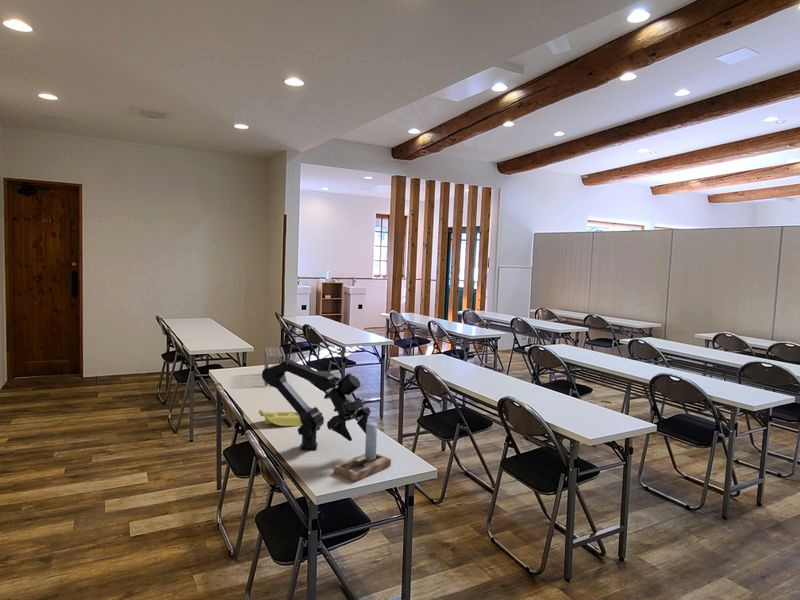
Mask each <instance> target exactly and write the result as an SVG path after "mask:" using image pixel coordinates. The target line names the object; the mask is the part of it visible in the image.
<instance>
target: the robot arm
mask: <svg viewBox="0 0 800 600" xmlns="http://www.w3.org/2000/svg"><path fill="white" fill-rule="evenodd" d="M274 365H275V366H274ZM274 365H272V366H268V368H266V369H265V368H264V369H263V370H262V371H261V378H262V380H263V381H264V382H265V384H266V383H267V384H268V385H269V386H270V387H272V388H275V389H277V391H278V392H279V393H280V394H281V395H282V396H283V398H284V399H285V400H286V402H287V403H288V404H289V405H290V406H291V407H292V408H293V409H294V411H295V412H297V413H298V414H299V416H300V420H301V423H302V425H301V426H299V427H298V428H297V432H298V435H301V443H300V447H299V450H300V451H303V450H304V451H307V450H309V451H311V450H312V451H314V450H315V451H317V449H318V442H317V432H318V431H320V429H321V427H322V426H324V422H325V417H324V416H323V415H324V414H323V413H322V412H321V411H320V410H319V408H318V407H317V406H314V407H313V408H312V407H310V406H309V405H308V404H307V403H306V402H305V401H304V399H303V398H302V397H301V396H300V395H299V393H298V392H296V390H295V389H294V388H293V387H292V385H290V383H289V382H288V381H287V378H286V373H287V372H288V373H289V374H292V375H294V376H297V377H299V378H302V379H304V380H306V381H309V382H311V384H312V385H313V386H314V387H315V388H317V389H319V390H320V391H322V392H325V394H324V397H323V399H324V400H327V399H328V400H329V399H330V401H331V403H332V405H333V407H334V409H333V412H334V413H337V415H334V416H332V417H331V418H330V419H329V420H328V421H327V422H326V426H327V429H328V430H329V431H330V430H332V432H335V433H337V434H339V435H341V436H342V437H343V438H344V439H346V440H347V441H349V442H351V441H352V439H353V438H352V436H351V433H350V432H349V430H348V428H347V424H346V422H348V421H352V420H355V421H357V422H356V424H357V425H358V426H359V428H360V429H361V430H362V432H364V434H365V435H366V423H368V419H369V416H370V414H371V413H372V411H371V409H370V408H369V407H367V406H365V404H366V402H365V398H363V396H359V397H357V398H356V399H355V400H353V401H352V399H349V398H347V396H351V395H352V394H354V392H356V391H357V390H358V389H360V387H361V381H360V380H359V378H358V377H356V376H355V375H352V374H351V372H349V373H346V375H344V377H343V378H340V377H337V376H336V375H335V374H333V373H330V372H326V371H316V370H315V369H313V368H310V367H308V366H305V365H303V364H301V363H298V362H296V361H294V360H293V359H287V360H286V359H285V361H284V362H283V361H282V363H281V364H280V363H279V364H274ZM328 390H329V391H328ZM364 406H365V407H364Z"/></svg>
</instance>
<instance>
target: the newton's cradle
mask: <svg viewBox="0 0 800 600" xmlns="http://www.w3.org/2000/svg"><path fill="white" fill-rule="evenodd" d="M268 350H269V351H268ZM272 352H276V354H272ZM269 357H270V358H271V360H273V357H275V360H274V361H275V362H274V361H271V363H272V365H273V366H275V365H279V364H281V363H282V362H284V361H286V355H285V352H284V349H283V347H282V346H279V347H277V346H276V347H275V349H272V348H268V347H267V346H265V347H264V369H266V368H269V362H270V361H269V360H270V359H269ZM273 362H274V363H273ZM278 362H279V364H278ZM265 385H266V386H268V385H269V384H267V383H266V382H265Z"/></svg>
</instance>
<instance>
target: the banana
mask: <svg viewBox="0 0 800 600" xmlns="http://www.w3.org/2000/svg"><path fill="white" fill-rule="evenodd" d="M258 414H259V415H260V416H261V417H264V424H265V425H270V424H271V425H272V424H274V425H276V426H280V427H301V426H302V423H301V420H300V416H299V414H298V413H297V412H296V411H295V412H292V411H290V412H285V411H284V412H271V411H270V412H269V411H267V412H264V411H263V410H262V409H259V411H258Z"/></svg>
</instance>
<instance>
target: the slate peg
mask: <svg viewBox="0 0 800 600" xmlns="http://www.w3.org/2000/svg"><path fill="white" fill-rule="evenodd" d="M377 435H378V423H377V422H375V421H374V422H373V421H370V422H367V423H366V434H365V447H364V448H365V452H364V454H365V458H366V459H368V461H367V462H364V463H363V464H362V468H365V467H367V466H366V464H368V463H370V462H372V461H373V459H376V454H377V442H378V441H377V440H378V438H377V437H378V436H377Z"/></svg>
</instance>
